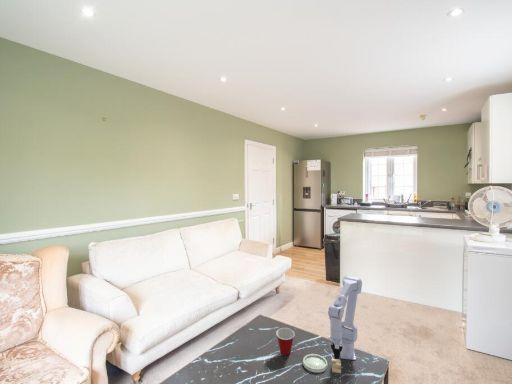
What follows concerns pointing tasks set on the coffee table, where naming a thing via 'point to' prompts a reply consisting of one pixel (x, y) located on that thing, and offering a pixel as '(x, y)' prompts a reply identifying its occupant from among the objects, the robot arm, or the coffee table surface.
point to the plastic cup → (285, 340)
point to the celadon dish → (315, 363)
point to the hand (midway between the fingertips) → (336, 354)
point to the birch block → (336, 365)
